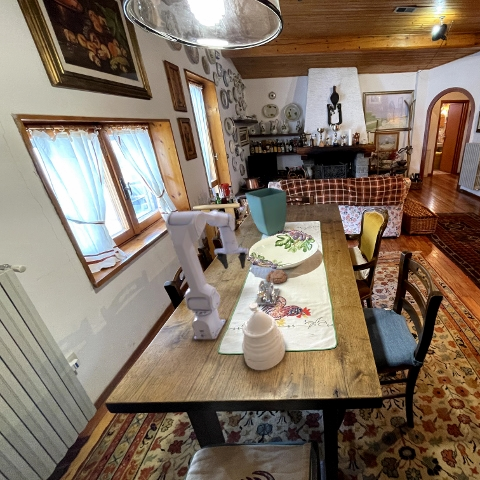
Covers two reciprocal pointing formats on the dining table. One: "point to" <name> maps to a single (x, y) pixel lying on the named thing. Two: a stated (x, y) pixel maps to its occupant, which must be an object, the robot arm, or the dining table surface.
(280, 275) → the cookie
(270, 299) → the bracket
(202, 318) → the robot arm
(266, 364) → the honey pot
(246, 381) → the dining table surface
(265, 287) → the tap lever
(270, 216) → the flower pot
